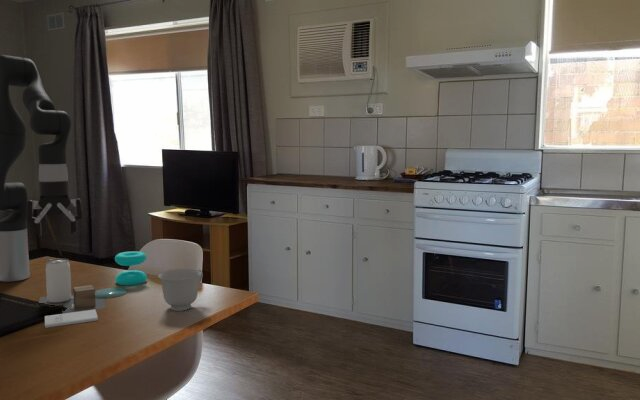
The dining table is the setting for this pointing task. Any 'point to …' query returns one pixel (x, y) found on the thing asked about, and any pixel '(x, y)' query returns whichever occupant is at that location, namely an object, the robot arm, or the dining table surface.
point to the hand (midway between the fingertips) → (56, 234)
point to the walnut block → (84, 296)
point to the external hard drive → (71, 318)
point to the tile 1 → (44, 300)
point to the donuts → (133, 275)
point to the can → (58, 280)
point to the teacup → (180, 287)
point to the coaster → (110, 292)
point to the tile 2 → (98, 302)
